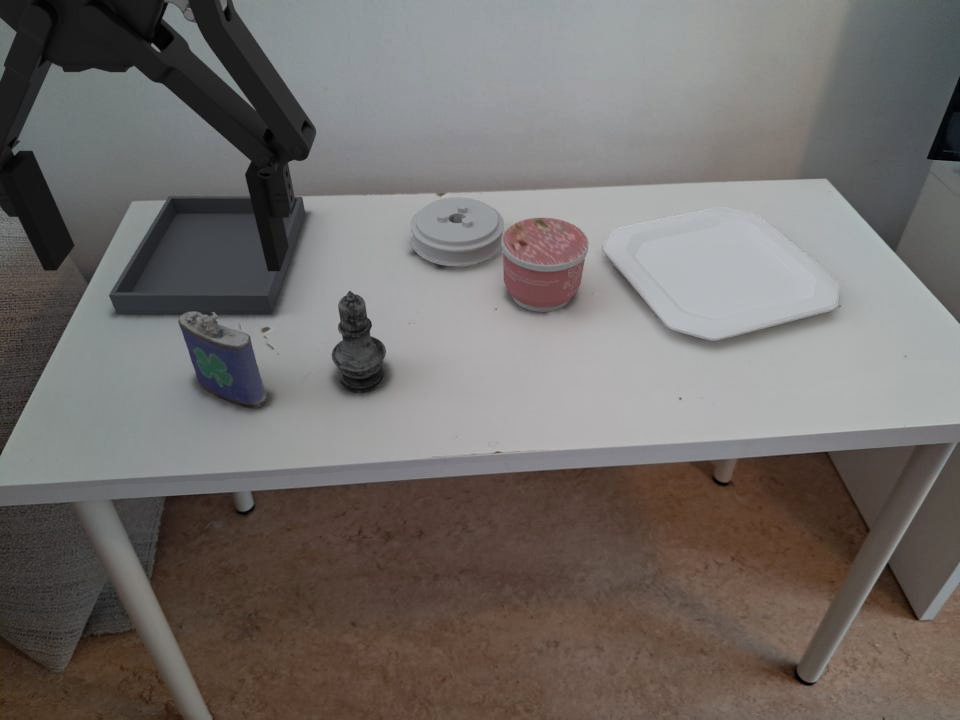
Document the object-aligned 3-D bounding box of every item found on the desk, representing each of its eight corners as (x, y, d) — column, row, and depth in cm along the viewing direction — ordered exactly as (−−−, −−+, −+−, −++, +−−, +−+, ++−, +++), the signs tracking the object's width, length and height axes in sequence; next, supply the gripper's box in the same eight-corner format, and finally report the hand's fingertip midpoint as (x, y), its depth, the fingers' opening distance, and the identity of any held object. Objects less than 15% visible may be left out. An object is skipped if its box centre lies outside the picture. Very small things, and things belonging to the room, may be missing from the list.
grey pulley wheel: (393, 242, 101) (390, 211, 98) (463, 211, 107) (463, 180, 104) (451, 284, 94) (450, 251, 91) (522, 248, 100) (523, 216, 97)
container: (561, 262, 98) (565, 210, 93) (596, 308, 91) (604, 255, 85) (488, 278, 95) (488, 226, 90) (518, 327, 88) (521, 273, 83)
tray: (272, 314, 90) (267, 295, 88) (116, 313, 90) (108, 295, 88) (305, 213, 107) (302, 196, 105) (174, 213, 107) (168, 195, 105)
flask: (272, 397, 79) (251, 321, 72) (253, 414, 77) (230, 338, 70) (209, 368, 83) (183, 293, 75) (190, 384, 81) (161, 309, 73)
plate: (856, 313, 90) (863, 299, 89) (683, 359, 84) (686, 345, 82) (739, 213, 107) (743, 200, 106) (587, 245, 101) (589, 231, 100)
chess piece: (328, 391, 80) (312, 305, 72) (344, 355, 84) (330, 271, 76) (380, 397, 79) (369, 312, 71) (394, 361, 84) (385, 276, 75)
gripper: (333, -168, 34) (375, 225, 48) (-208, -171, 34) (-3, 224, 48) (304, -139, 28) (362, 295, 43) (-342, -142, 28) (-65, 294, 43)
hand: (169, 258), depth 45 cm, fingers open, 13 cm apart
